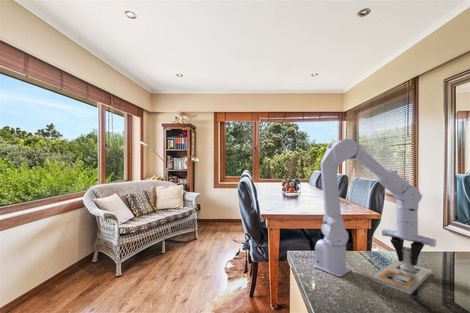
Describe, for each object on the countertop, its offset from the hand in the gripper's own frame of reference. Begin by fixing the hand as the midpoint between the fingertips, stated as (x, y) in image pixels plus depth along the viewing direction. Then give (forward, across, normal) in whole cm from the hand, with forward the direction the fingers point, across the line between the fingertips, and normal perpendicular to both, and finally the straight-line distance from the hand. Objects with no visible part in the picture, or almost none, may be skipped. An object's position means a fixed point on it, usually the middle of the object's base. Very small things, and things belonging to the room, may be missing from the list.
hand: (407, 262), depth 79 cm
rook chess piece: (+3, 0, 0) cm, 3 cm away
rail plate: (+3, 0, +5) cm, 6 cm away
